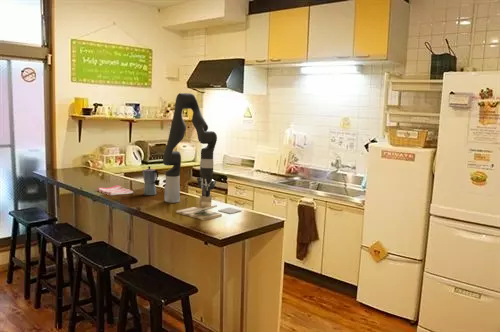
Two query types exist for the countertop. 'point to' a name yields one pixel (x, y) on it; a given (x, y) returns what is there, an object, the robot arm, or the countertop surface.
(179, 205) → the countertop surface
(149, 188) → the moka pot
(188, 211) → the board
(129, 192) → the dish towel
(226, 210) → the mat
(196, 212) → the tile
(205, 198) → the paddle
